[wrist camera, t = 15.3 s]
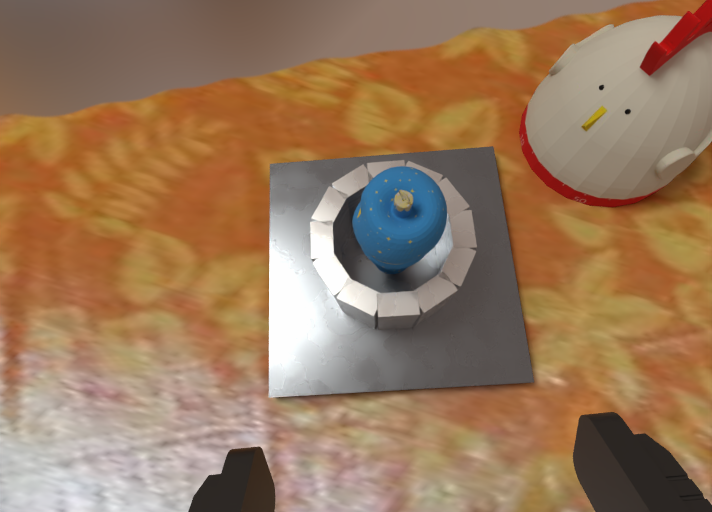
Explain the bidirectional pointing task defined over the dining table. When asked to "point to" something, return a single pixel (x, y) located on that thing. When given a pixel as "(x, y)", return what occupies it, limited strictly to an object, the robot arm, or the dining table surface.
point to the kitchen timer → (623, 110)
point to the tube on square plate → (391, 284)
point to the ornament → (399, 218)
